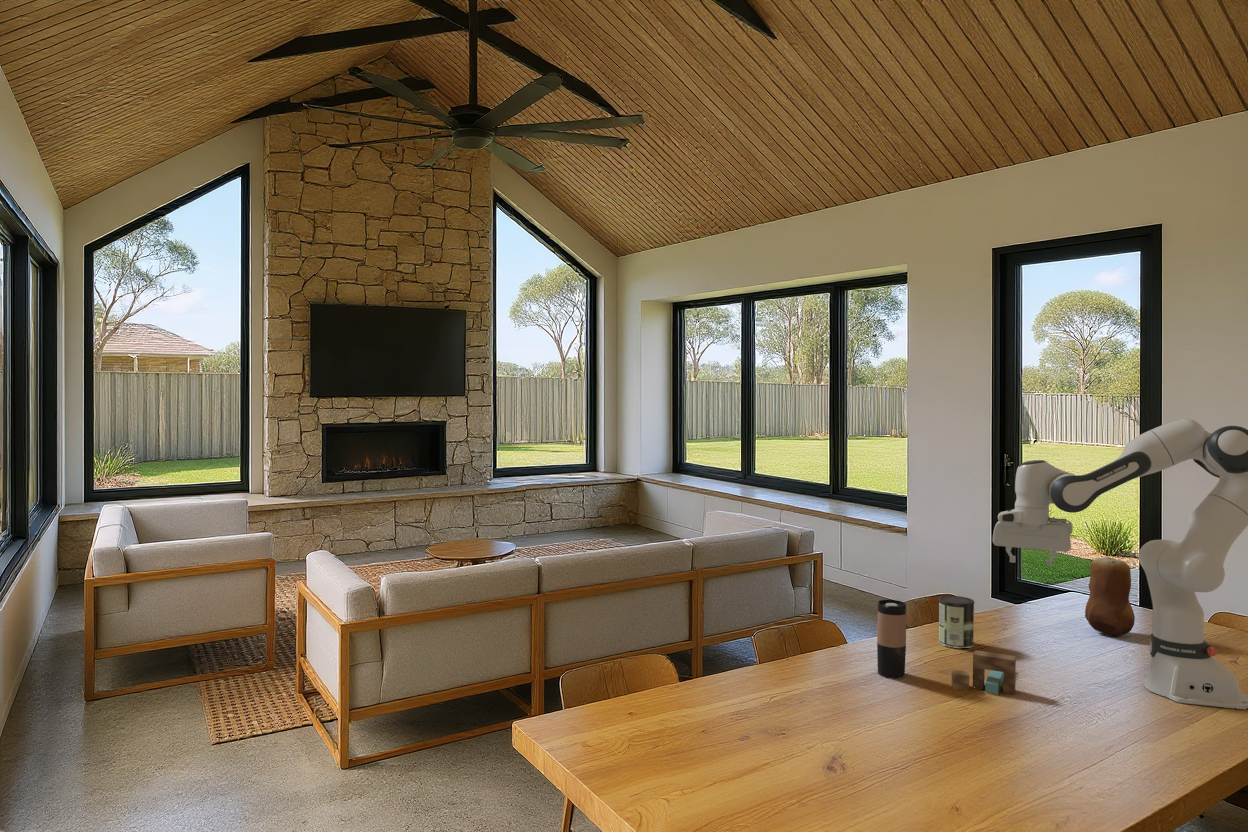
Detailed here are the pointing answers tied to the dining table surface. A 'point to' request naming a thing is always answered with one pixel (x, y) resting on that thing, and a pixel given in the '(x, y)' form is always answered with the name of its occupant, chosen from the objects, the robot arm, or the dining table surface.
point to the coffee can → (956, 621)
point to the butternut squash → (1110, 597)
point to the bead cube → (959, 679)
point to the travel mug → (891, 638)
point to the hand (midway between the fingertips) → (1030, 564)
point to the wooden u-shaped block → (994, 668)
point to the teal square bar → (994, 682)
